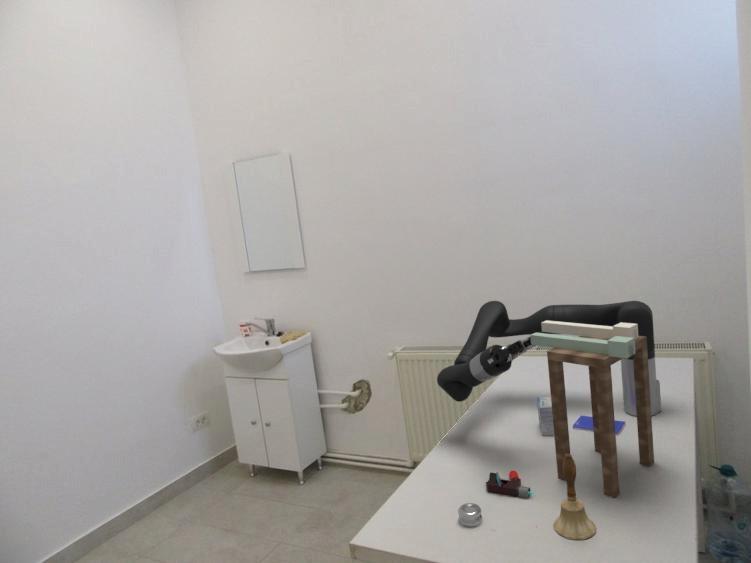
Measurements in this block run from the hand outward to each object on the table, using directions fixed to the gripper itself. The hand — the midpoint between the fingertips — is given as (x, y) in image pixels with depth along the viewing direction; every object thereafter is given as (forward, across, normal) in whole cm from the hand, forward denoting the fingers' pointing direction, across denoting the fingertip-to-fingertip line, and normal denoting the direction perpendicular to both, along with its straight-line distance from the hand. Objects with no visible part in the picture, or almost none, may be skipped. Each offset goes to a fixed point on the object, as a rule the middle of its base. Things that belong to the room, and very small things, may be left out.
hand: (531, 339), depth 131 cm
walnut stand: (-5, -6, -35) cm, 36 cm away
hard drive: (-17, -28, -29) cm, 44 cm away
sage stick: (+10, -1, -7) cm, 12 cm away
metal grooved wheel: (-16, +30, -30) cm, 45 cm away
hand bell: (0, +18, -39) cm, 43 cm away
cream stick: (+6, -12, -5) cm, 15 cm away
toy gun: (-17, +13, -29) cm, 36 cm away
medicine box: (-26, -18, -24) cm, 40 cm away
